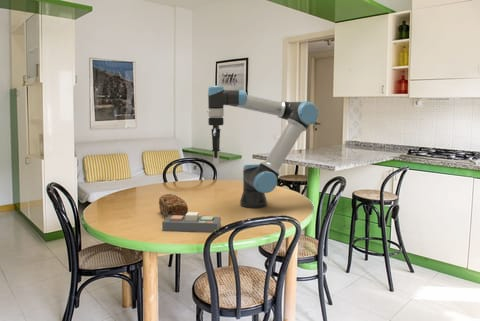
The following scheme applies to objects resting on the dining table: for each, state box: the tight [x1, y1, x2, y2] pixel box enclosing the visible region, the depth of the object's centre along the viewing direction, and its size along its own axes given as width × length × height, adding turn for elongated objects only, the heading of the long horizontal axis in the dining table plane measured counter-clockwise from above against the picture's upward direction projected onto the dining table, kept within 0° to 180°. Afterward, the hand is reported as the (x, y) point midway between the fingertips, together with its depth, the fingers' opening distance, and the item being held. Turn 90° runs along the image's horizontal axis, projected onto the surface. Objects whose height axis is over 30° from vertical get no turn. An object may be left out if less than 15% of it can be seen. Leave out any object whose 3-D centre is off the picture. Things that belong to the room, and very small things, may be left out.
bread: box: [158, 193, 189, 219], centre depth 205 cm, size 19×11×10 cm, turn 24°
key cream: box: [185, 211, 199, 221], centre depth 185 cm, size 5×5×4 cm
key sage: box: [201, 215, 214, 222], centre depth 185 cm, size 5×5×4 cm
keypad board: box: [161, 215, 222, 233], centre depth 186 cm, size 25×11×4 cm, turn 85°
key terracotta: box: [170, 215, 184, 221], centre depth 186 cm, size 5×5×4 cm
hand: (216, 164), depth 204 cm, fingers closed
